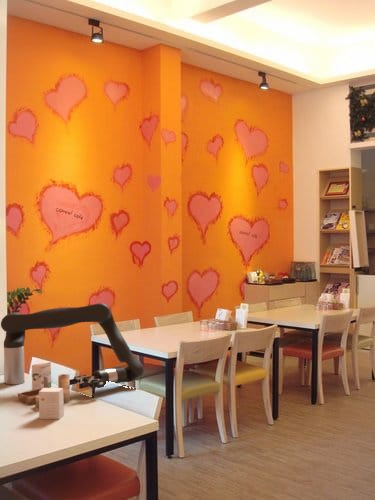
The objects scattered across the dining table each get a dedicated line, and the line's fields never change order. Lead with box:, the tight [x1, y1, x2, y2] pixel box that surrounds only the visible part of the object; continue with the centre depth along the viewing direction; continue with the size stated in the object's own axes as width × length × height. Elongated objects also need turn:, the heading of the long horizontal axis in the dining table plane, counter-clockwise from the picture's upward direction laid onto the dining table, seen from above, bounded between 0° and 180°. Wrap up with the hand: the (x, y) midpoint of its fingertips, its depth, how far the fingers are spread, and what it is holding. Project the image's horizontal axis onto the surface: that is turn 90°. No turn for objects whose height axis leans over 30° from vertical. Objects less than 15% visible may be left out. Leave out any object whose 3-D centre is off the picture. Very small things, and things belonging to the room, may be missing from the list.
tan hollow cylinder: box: [57, 373, 71, 404], centre depth 236 cm, size 5×5×11 cm
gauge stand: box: [35, 376, 48, 408], centre depth 229 cm, size 6×6×12 cm
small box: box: [38, 387, 65, 420], centre depth 215 cm, size 8×6×10 cm
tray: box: [17, 389, 42, 406], centre depth 239 cm, size 11×11×2 cm
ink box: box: [31, 361, 52, 391], centre depth 256 cm, size 9×5×12 cm, turn 160°
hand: (73, 384), depth 239 cm, fingers open, 8 cm apart
